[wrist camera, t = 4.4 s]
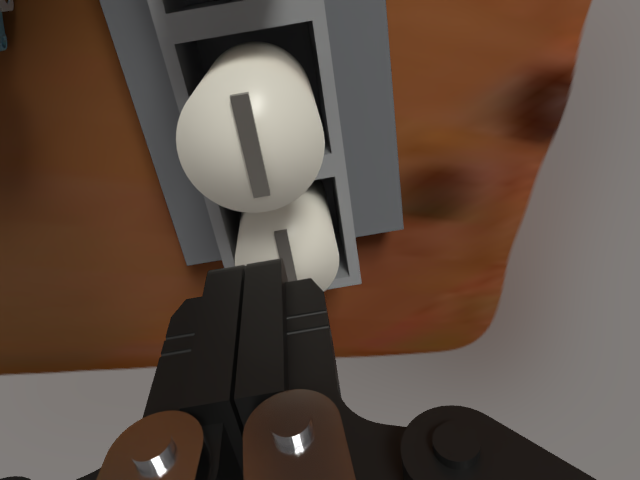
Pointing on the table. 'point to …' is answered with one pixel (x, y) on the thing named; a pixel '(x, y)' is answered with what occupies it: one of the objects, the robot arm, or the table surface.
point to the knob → (293, 238)
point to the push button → (0, 35)
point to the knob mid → (252, 130)
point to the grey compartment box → (327, 86)
